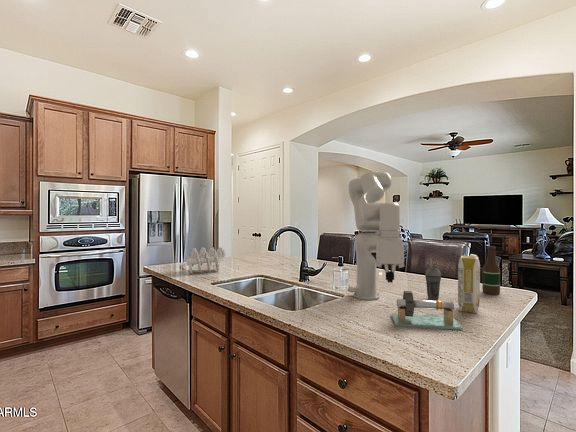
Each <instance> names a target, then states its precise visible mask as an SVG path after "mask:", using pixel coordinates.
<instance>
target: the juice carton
mask: <svg viewBox="0 0 576 432" xmlns="http://www.w3.org/2000/svg"><path fill="white" fill-rule="evenodd" d="M480 263H481V262H480V260H479V256H478V255H477V254H473V253H469V255H461V256H460V258H459V260H458V264H457V265H458V267H457V268H458V269H457V270H458V271H457V301H458V302H457V304H458V308H459V311H460V312H466V313H473V314H477V313H478V311H479V308H480V300H481V299H480V298H481V297H480V296H481V295H480V293H481V264H480Z"/></svg>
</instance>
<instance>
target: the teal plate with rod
mask: <svg viewBox="0 0 576 432" xmlns="http://www.w3.org/2000/svg"><path fill="white" fill-rule="evenodd" d="M396 306H397V307H396V308H397V313H394V312H391V315H390V316H391V318H392V321H393V324H394V326H395V327H401V328H404V327H405V328H417V329H418V328H419V329H420V328H421V329H422V328H423V329H433V330H434V329H435V330H453V331H454V330H455V331H463V329H464V328H463V326H462V325H461V324H460V323H459V322H458V321H457V320H456V319H455V318H454V309H455V303H454V301H453V300H452V301H449V300H448V301H447V300H441V299H438V300H436V301H431V300H428V299H426V300H424V299H414V309H428V310H429V309H430V310H437V311H438V310H439V311H441V310H443V315H434V314H433V315H432V314H417V313H416V314H415V313H414V314H413V316H412V317H411V316H405V308H404V307H406V301H405V299H403V298H402V299H401V298H397V299H396Z"/></svg>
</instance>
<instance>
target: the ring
mask: <svg viewBox="0 0 576 432" xmlns="http://www.w3.org/2000/svg"><path fill="white" fill-rule="evenodd" d="M402 299H405V301H406V307H404V308H405V316H411V317H412V316H413V314H415V308H414V300H415V299H414V294H413V292H412V290H403V294H402Z"/></svg>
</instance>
